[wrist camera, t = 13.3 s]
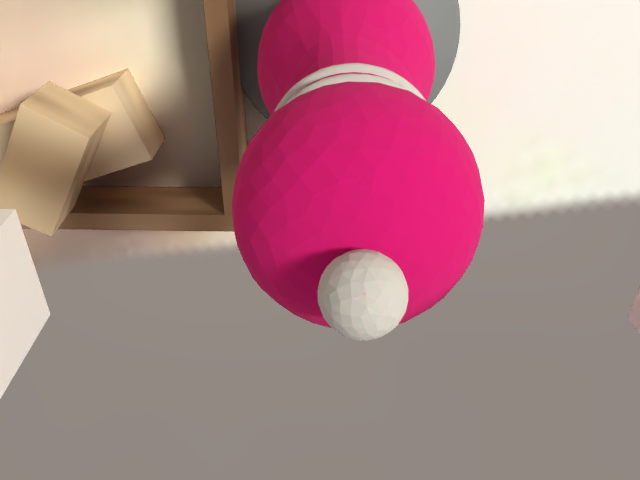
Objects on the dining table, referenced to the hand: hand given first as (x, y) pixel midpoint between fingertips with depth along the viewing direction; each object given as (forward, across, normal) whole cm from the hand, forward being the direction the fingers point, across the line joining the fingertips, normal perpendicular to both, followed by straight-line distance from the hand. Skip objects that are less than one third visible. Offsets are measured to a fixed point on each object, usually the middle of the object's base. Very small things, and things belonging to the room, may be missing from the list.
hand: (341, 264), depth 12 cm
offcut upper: (+16, -13, -5) cm, 22 cm away
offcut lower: (+20, -13, -5) cm, 24 cm away
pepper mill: (+18, +1, 0) cm, 18 cm away
